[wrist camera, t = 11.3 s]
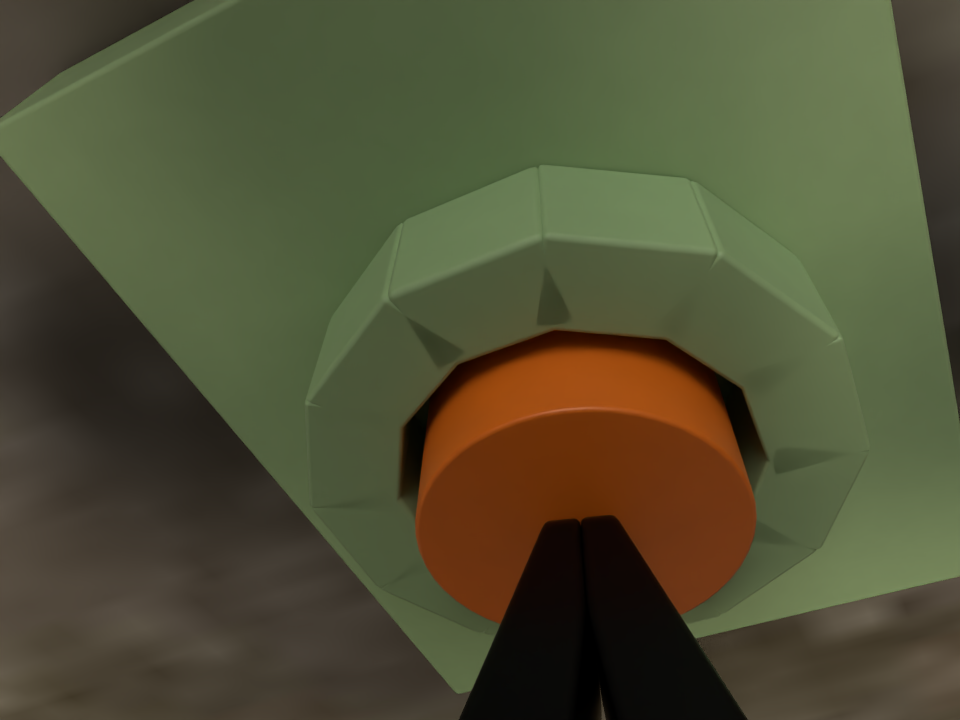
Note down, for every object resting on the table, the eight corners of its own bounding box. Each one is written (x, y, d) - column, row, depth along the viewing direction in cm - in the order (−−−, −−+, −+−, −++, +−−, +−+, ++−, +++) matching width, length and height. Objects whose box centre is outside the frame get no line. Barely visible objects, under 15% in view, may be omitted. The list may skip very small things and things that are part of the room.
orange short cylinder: (746, 453, 12) (792, 595, 10) (500, 525, 13) (498, 666, 11) (664, 235, 10) (702, 360, 8) (380, 341, 11) (351, 474, 9)
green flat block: (933, 478, 16) (1039, 667, 13) (461, 605, 19) (451, 786, 15) (774, -316, 9) (923, -344, 6) (58, 73, 12) (-112, 202, 8)
